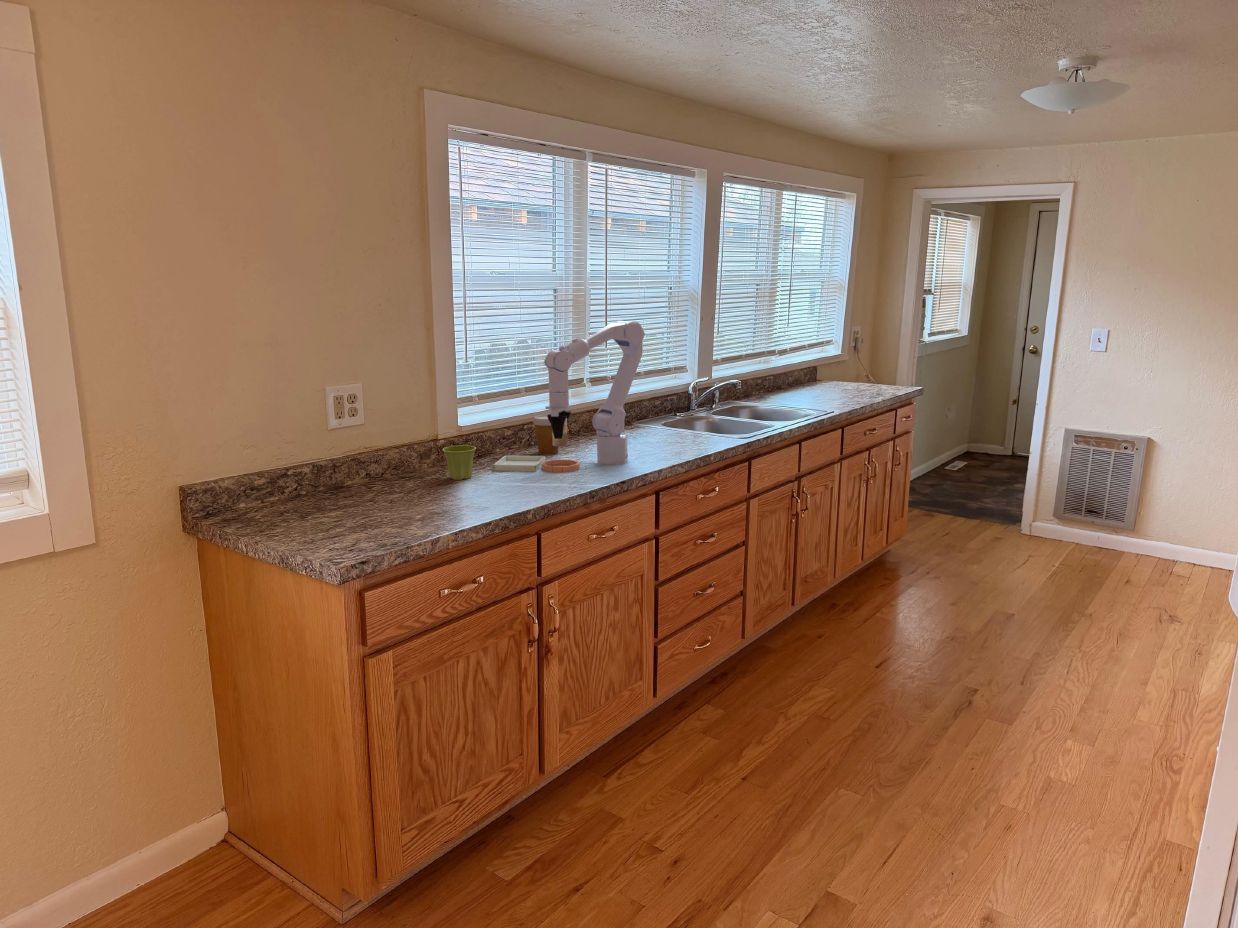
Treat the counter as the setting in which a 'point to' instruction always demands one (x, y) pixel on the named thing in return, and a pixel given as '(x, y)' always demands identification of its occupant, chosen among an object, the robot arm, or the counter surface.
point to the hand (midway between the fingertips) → (559, 437)
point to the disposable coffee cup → (544, 435)
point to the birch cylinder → (564, 438)
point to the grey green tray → (519, 463)
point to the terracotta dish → (560, 465)
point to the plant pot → (459, 461)
